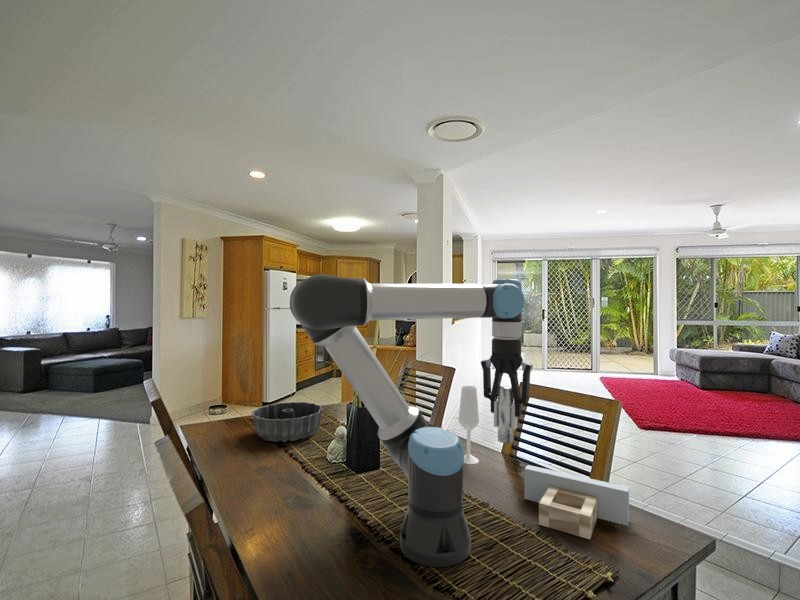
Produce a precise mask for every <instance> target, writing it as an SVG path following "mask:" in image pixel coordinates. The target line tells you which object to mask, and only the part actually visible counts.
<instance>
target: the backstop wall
mask: <svg viewBox="0 0 800 600" xmlns="http://www.w3.org/2000/svg"><path fill="white" fill-rule="evenodd" d="M549 486H554V487H558V488H562V489H567V490H571V491H575V492H579V493H583V494H587V495H592V496H596V497H597V519H600V520H602V519H603V521H606V520H607V521H606V522H610V521H611V523H614V522H615V523H614V524H617V523H618V525H621V524H623V525H622V526H625V525H626V526H625V527H628V526H629V521H630V486H626V485H621V484H618V483H617V484H616V483H612V482H608V481H605V480H604V481H603V480H599V479H594V478H589V477H586V476H585V477H584V476H580V475H577V474H572V473H567V472H562V471H559V470H558V471H557V470H553V469H549V468H543V467H539V466H535V465H530V464H527V465H526V466H525V468H524V500H529V501H532V502H536V503H538V504H539V502H540V501H541V499H542V497H543V496H544V494H545V493H546V491H547V489H548V488H549Z"/></svg>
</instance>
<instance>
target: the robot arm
mask: <svg viewBox="0 0 800 600" xmlns="http://www.w3.org/2000/svg"><path fill="white" fill-rule="evenodd" d="M290 293H291V294H290V297H289V308H290V311H291V314H292V316H293V317H294V319H295V320H296V321H297V322H298V323H299V324H300V325H301V327H302V328H303V330H304V331H305V332H306V334H307V336H308V337H309V339H310V340H311V342H312V343H313V344H314V345H316V346H321V347H324V348H325V349H326V351H327V353H328V354H329V356H330V357H331V358H332V360H333V362H334V363H335V364H336V366H337V367H338V369H339V370H340V372H341V373H342V374H343V376H344V377H345V379H346V380H347V382H348V384H350V386H351V388H352V389H353V390H354V392H355V393H356V395H357V397H358V398H359V399H360V401H361V403H363V405H364V406H365V408H366V409H367V411H368V413H369V414H370V415H371V417H372V418H373V420H374V421H375V423H376V424H377V425H378V431H377V436H378V438H379V440H380V441H381V443H382V444H383V446H384V447H385V448H386V450H387V453H388V455H389V456H390V458H391V459H392V460H393V461H394V462H395V463H396V465H397V466H398V467H399V469H400V470H402V473H403V474H404V475H405V476H406V477H407V481H408V484H407V485H408V487H407V488H408V492H407V493H408V498H407V499H408V500H407V501H408V503H407V504H408V505H407V506H408V507H407V510H406V513H405V516H404V519H403V523H402V525H401V528H400V532H399V547H400V548H399V549H400V550H401V552H402V554H403V555H404V556H405V557H406V558H407V559H409V560H411V561H413V562H414V563H416V564H419V565H421V566H426V567H432V568H445V567H446V568H447V567H453V566H456V565H458V564H461V563H462V562H463V561H465V560H466V559H467V558H469V556H470V554H471V552H472V537H471V536H472V535H471V532H470V529H469V525H468V522H467V519H466V517H465V516H466V515H465V513H464V464H465V463H464V455H465V453H464V445H463V441H462V439H461V438H460V437H459V436H458V435H457V434H456V432H453V431H451V430H449V429H444V428H442V427H438V426H437V427H436V426H430V425H429V423H428V421H427V419H426V418H425V417H424V416H423V414H422V413H421V411H420V409H419V408H418V407H417V406H414V405H409V404H408V403H407V402H406V399H405V398H404V397H403V394H401V392H400V390H399V389H398V388H397V386H396V385H395V383H394V382H393V380H392V378H391V377H390V375H389V374H388V373H387V371H386V370H385V368H384V367H383V365H382V364H381V362H380V360H379V359H378V358H377V356H376V354H375V353H374V351H373V350H372V348H371V347H370V346H369V344H368V342H367V341H366V340H365V338H364V336H363V335H362V334H361V332H360V330H359V329H358V328H357V326H359V327H360V326H363V327H364V326H366V325H367V323H369V322H371V321H397V320H399V321H401V320H439V319H441V320H443V319H465V318H466V319H469V318H470V319H474V318H475V319H477V318H478V319H479V318H484V319H485V318H486V319H487V318H491V336H492V337H493V338H492V339H491V356H490V358H489V359H484V360H480V365H481V368H482V378H483V381H482V382H483V397H484V398H485V399H488V400H490V401H489V402H490V413H492V414H493V427H494V428H498V387H499V386H501V383H502V380H503V379H502V378H503V376H504V374H506V375H508V377H509V380H510V386H511V387H512V392H513V397H514V403H513V404H511V430H513V431H515V430H516V429H517V428H518V418H520V417H521V415H522V404H526V403H527V402H528V401H529V400H530V384H531V383H530V382H531V378H530V377H531V372H532V370H533V367H534V365H533V364H532V363H528V362H526V361H524V359H523V357H522V340H521V339H520V338H521V337H522V322H523V321H522V311H523V309H524V307H525V294H524V292H523V288H522V282H521V281H520V280H519V279H516V278H515V279H513V278H508V279H507V278H499V279H498V278H496V279H493V280H492V283H491V284H490V283H480V284H479V283H370V282H368V280H366V279H365V278H357V277H356V278H354V277H353V278H352V277H341V276H335V275H329V274H323V273H322V274H313V275H311V276H309V277H307V278H304V279H303V280H301V281H299V282H298V283H297V284H296V285H295V287H294V288H293V289H292V291H291V292H290ZM492 365H493V368H494V369H495V371H494V377H493V378H494V379H493V383H492V378H491V376H492V375H491V367H492ZM520 367H521V370H522V371H523V372H522V379H521V380H522V381H521V382H522V384H521V388H520V384H519V383H520V382H519V378H518V375H519V374H518V370H519V369H520Z"/></svg>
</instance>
